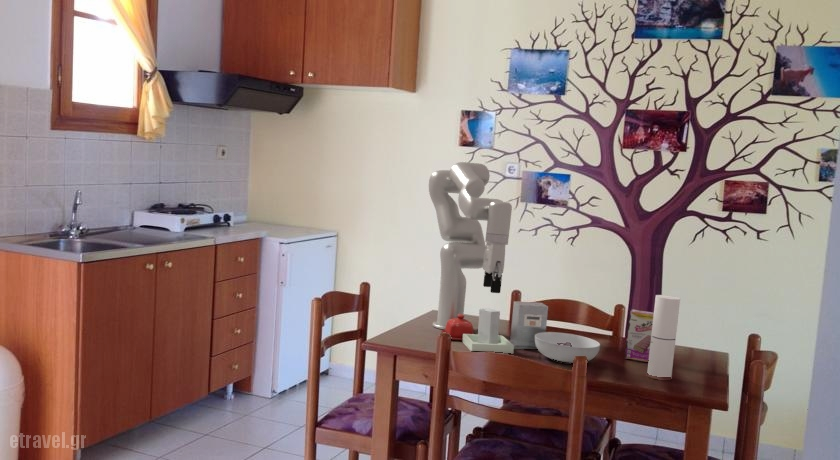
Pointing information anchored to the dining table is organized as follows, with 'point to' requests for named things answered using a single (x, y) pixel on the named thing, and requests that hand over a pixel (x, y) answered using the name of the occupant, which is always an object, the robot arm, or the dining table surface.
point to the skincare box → (488, 326)
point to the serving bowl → (551, 349)
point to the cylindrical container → (663, 336)
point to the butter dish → (458, 327)
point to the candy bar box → (639, 334)
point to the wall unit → (527, 323)
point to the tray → (472, 344)
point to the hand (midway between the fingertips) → (491, 289)
